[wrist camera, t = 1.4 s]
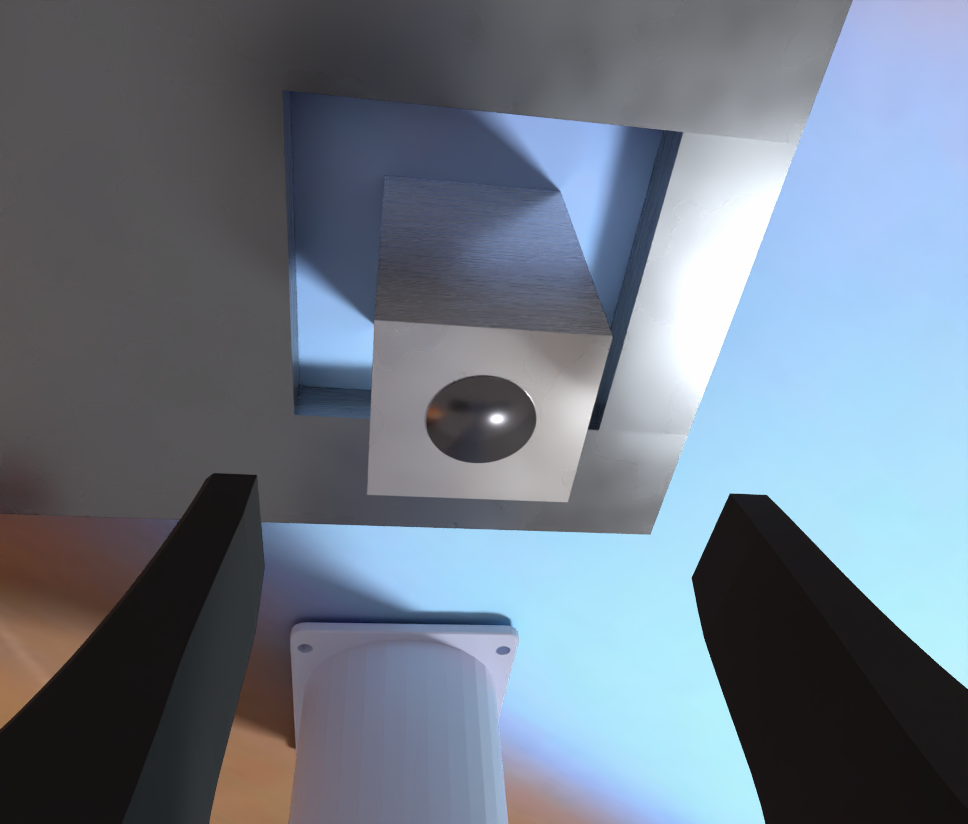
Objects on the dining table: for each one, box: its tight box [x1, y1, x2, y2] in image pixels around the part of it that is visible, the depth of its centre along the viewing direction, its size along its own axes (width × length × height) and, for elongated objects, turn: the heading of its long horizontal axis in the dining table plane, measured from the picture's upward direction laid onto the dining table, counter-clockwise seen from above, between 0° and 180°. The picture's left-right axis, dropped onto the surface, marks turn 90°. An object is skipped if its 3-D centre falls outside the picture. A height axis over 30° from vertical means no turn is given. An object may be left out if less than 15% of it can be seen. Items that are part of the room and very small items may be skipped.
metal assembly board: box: [0, 0, 852, 534], centre depth 17 cm, size 16×30×1 cm, turn 83°
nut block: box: [367, 176, 613, 502], centre depth 16 cm, size 4×4×6 cm
